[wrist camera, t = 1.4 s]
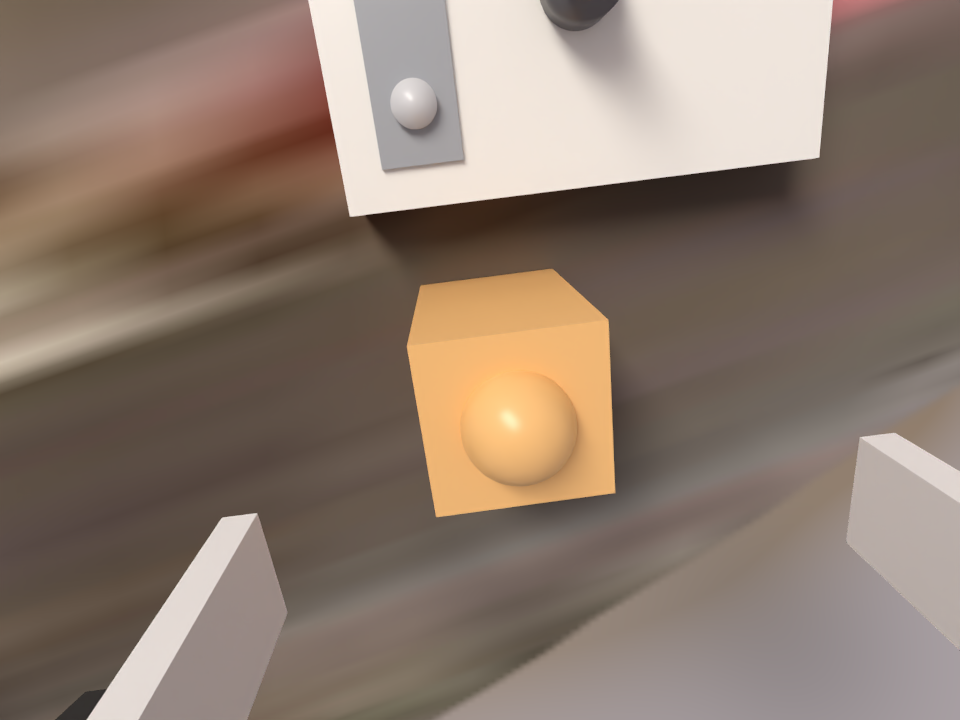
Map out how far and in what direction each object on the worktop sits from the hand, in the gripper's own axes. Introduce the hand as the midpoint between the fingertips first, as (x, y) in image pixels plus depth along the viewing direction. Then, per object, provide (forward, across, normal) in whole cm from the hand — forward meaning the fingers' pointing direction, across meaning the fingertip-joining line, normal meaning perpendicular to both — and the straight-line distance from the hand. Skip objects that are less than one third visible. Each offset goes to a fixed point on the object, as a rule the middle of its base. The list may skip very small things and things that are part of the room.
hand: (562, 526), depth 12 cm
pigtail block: (+14, +3, +13) cm, 20 cm away
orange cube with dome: (+14, -1, 0) cm, 14 cm away
